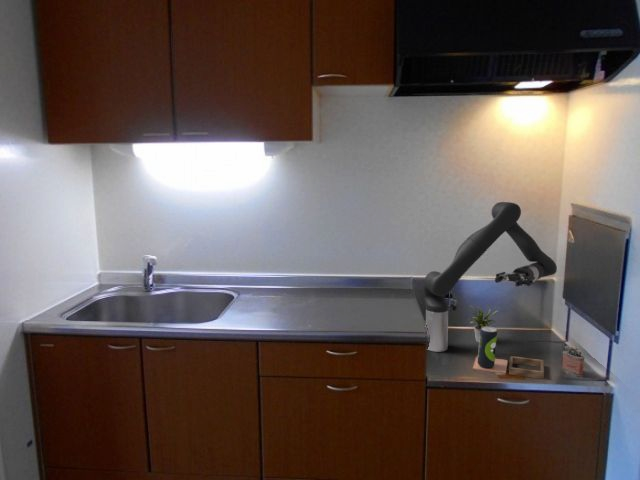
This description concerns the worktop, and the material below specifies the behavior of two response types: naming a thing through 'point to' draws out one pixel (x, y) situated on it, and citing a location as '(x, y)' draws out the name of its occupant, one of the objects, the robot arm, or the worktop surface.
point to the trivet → (498, 367)
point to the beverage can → (487, 347)
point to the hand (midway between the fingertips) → (506, 281)
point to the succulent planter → (573, 361)
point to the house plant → (480, 322)
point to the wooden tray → (525, 371)
